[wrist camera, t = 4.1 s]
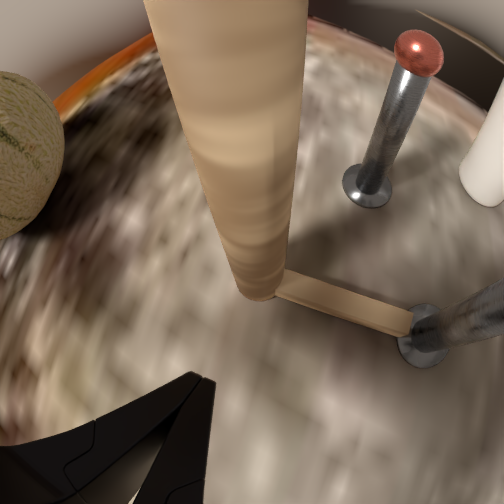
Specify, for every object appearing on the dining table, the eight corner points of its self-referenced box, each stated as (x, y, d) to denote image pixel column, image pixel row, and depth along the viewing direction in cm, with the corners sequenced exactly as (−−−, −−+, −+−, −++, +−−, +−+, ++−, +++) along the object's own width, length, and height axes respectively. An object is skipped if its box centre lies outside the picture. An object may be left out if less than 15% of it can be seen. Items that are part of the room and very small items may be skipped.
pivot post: (412, 380, 17) (512, 373, 8) (386, 323, 19) (470, 276, 10) (458, 346, 18) (559, 316, 8) (433, 293, 19) (522, 234, 10)
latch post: (359, 215, 22) (428, 58, 9) (332, 174, 23) (369, 14, 11) (400, 198, 22) (476, 57, 10) (372, 159, 24) (422, 15, 11)
